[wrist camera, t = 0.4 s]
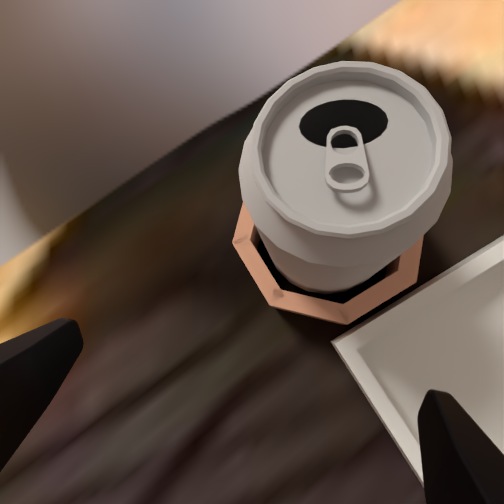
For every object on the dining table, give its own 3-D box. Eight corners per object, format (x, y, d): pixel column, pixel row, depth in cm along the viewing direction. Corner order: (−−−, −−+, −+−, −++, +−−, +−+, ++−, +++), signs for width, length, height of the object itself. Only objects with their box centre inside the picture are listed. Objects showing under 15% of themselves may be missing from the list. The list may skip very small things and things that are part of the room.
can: (379, 185, 22) (464, 26, 10) (386, 296, 20) (496, 256, 9) (268, 189, 23) (233, 50, 11) (266, 294, 21) (222, 257, 10)
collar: (442, 262, 20) (465, 251, 17) (299, 350, 20) (299, 354, 17) (344, 140, 23) (350, 114, 20) (220, 218, 23) (208, 203, 20)
